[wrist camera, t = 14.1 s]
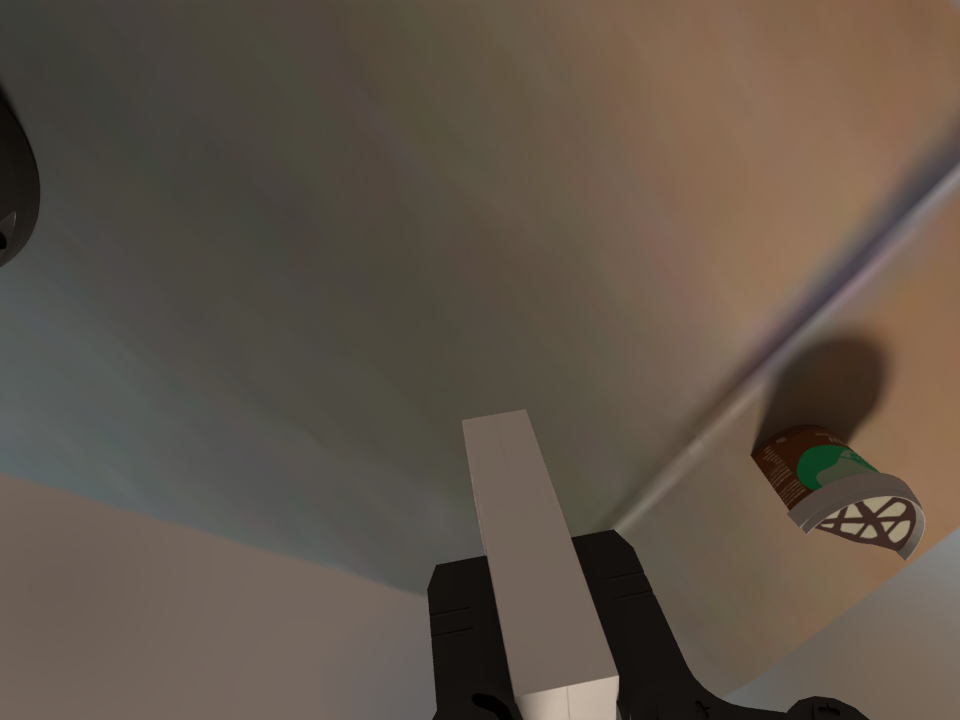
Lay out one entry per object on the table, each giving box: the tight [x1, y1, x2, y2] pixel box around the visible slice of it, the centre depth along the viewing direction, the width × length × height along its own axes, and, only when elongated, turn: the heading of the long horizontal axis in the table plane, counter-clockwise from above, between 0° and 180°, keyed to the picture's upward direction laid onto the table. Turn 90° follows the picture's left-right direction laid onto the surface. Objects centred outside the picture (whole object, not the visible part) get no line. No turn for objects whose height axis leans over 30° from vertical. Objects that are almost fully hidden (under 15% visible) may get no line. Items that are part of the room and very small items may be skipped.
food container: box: [751, 425, 926, 561], centre depth 53 cm, size 12×6×10 cm, turn 66°
